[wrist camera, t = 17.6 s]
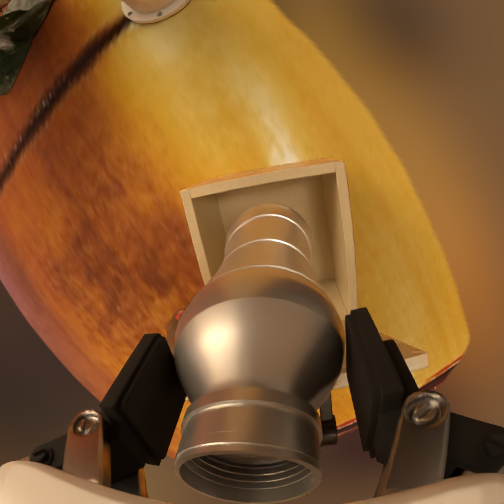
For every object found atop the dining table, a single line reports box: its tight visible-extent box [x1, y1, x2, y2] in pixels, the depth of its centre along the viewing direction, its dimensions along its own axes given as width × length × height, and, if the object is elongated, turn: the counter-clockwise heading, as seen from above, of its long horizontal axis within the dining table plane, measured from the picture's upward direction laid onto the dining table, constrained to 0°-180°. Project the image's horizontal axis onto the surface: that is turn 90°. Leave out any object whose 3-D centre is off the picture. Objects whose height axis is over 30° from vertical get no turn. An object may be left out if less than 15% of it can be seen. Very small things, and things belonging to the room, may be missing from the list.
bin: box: [180, 158, 358, 326], centre depth 34 cm, size 18×16×12 cm
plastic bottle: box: [174, 203, 346, 504], centre depth 15 cm, size 6×7×20 cm
